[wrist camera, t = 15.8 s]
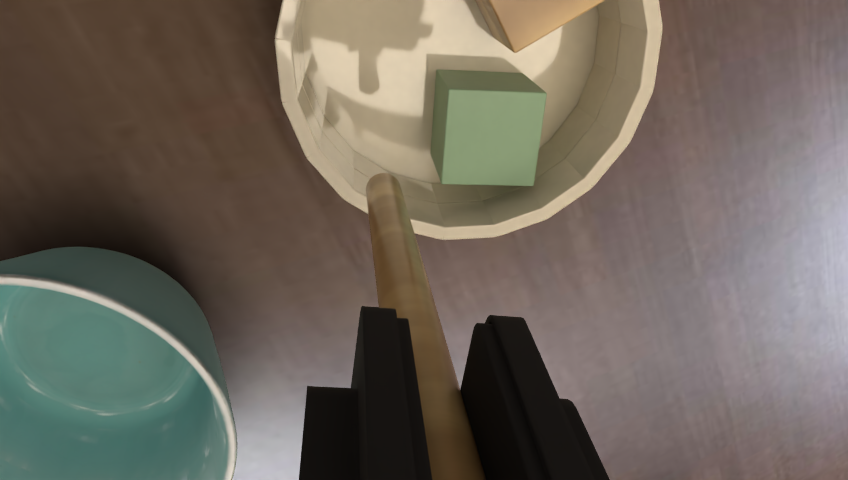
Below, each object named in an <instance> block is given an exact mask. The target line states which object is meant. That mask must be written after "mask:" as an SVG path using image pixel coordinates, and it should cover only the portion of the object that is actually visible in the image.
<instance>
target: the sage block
mask: <svg viewBox="0 0 848 480" xmlns="http://www.w3.org/2000/svg"><path fill="white" fill-rule="evenodd" d="M546 97H547V93H546V92H545V91H544V90H543V89H541V88H540V87H539V86H538V85H537V84H535V83H534V82H533V81H532V80H530V79H529V78H528V77H527V76H526V75H524V74H523V73H511V72H488V71H465V70H441V69H437V70H436V80H435V95H434V109H433V124H432V138H431V153H430V154H431V157H432V160H433V162H434V165H435V168H436V171H437V173H438V176H439V179H440V182H441V184H456V185H504V186H533V185H534V180H535V173H536V166H537V159H538V152H539V145H540V138H541V131H542V124H543V118H544V111H545V104H546Z"/></svg>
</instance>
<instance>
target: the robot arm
mask: <svg viewBox="0 0 848 480" xmlns="http://www.w3.org/2000/svg"><path fill="white" fill-rule="evenodd" d="M460 391H461V395H462V398H463V402H464V405H465V408H466V412H467V415H468V419H469V422H470V426H471V429H472V432H473V436H474V439H475V443H476V446H477V450H478V453H479V456H480V460H481V463H482V467H483V470H484V474H485V477H486V480H609V477H608V475H607V473H606V471H605V469H604V467H603V464H602V462H601V460H600V458H599V456H598V454H597V452H596V449H595V447H594V445H593V443H592V441H591V439H590V437H589V434H588V432H587V430H586V428H585V426H584V424H583V421H582V419H581V417H580V415H579V413H578V411H577V409H576V407H575V406H574V404H573V402H571V401H570V400H568V399H559V396H558V394H557V392H556V390H555V387H554V385H553V383H552V381H551V378H550V376H549V374H548V371H547V369H546V367H545V365H544V362H543V360H542V358H541V355H540V353H539V351H538V349H537V346H536V344H535V342H534V340H533V337H532V335H531V333H530V330H529V328H528V326H527V324H526V321H525V320H524V318H521V317H508V316H494V315H490V316H488V318H487V320H486V322H485V324H483V323H477V324H476V325H475V327H474V330H473V334H472V339H471V344H470V348H469V353H468V357H467V362H466V367H465V371H464V376H463V381H462V385H461V390H460ZM299 480H432V474H431V468H430V461H429V454H428V447H427V441H426V434H425V427H424V420H423V414H422V407H421V400H420V393H419V387H418V380H417V373H416V367H415V360H414V353H413V346H412V340H411V333H410V326H409V320H408V319H407V318H397V313H396V309H393V308H379V307H364V306H362V307H361V312H360V318H359V327H358V335H357V343H356V351H355V359H354V367H353V375H352V383H351V388H333V387H313V386H307V397H306V408H305V419H304V430H303V441H302V452H301V463H300V474H299Z"/></svg>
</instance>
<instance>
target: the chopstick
mask: <svg viewBox="0 0 848 480" xmlns="http://www.w3.org/2000/svg"><path fill="white" fill-rule="evenodd" d="M366 196H367V205H368V214H369V223H370V232H371V241H372V250H373V259H374V268H375V277H376V286H377V295H378V304H379V308H393V309H396V313H397V318H407V319H408V320H409V326H410V333H411V340H412V346H413V353H414V360H415V367H416V373H417V380H418V387H419V393H420V400H421V407H422V414H423V420H424V427H425V434H426V441H427V447H428V454H429V461H430V468H431V474H432V480H486V477H485V474H484V470H483V467H482V463H481V460H480V456H479V453H478V450H477V446H476V443H475V439H474V436H473V432H472V429H471V426H470V422H469V419H468V415H467V412H466V408H465V405H464V402H463V398H462V395H461V391H460V388H459V384H458V381H457V377H456V374H455V371H454V367H453V364H452V360H451V357H450V353H449V350H448V347H447V343H446V340H445V336H444V333H443V330H442V326H441V323H440V319H439V316H438V312H437V309H436V306H435V302H434V299H433V295H432V292H431V289H430V285H429V282H428V278H427V275H426V271H425V268H424V265H423V261H422V258H421V254H420V251H419V248H418V244H417V241H416V237H415V234H414V230H413V227H412V224H411V220H410V217H409V213H408V210H407V207H406V203H405V200H404V196H403V193H402V189H401V186H400V183H399V181H398V180H397V179H396V178H395V177H394V176H393V175H391V174H388V173H379V174H376V175H374V176H373V177H372V178H370V180H369V181H368V183H367V185H366Z"/></svg>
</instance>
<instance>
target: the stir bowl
mask: <svg viewBox="0 0 848 480" xmlns="http://www.w3.org/2000/svg"><path fill="white" fill-rule="evenodd" d="M662 28H663V25H662V19H661V12H660V6H659V0H605V1H603V2H602V3H600V4H598V5H597V6H595V7H593V8H592V9H590V10H588V11H587V12H585V13H583V14H581V15H580V16H578V17H576V18H575V19H573V20H571V21H570V22H568V23H566V24H564V25H563V26H561V27H559V28H558V29H556V30H554V31H553V32H551V33H549V34H548V35H546V36H544V37H542V38H541V39H539V40H537V41H536V42H534V43H532V44H531V45H529V46H527V47H525V48H524V49H522V50H520V51H519V52H517V53H514V52H512V51H511V50H510V49H508V48H507V47H506V46H504V45H503V44H502V43H500V42H499V41H497V40H496V39H495V38H494V37H493V36H492V34H491V32H490V30H489V28H488V26H487V24H486V22H485V20H484V18H483V16H482V14H481V12H480V10H479V7H478V5H477V3H476V1H475V0H282V4H281V9H280V14H279V19H278V24H277V28H276V33H275V49H276V58H277V68H278V77H279V86H280V95H281V101H282V105H283V107H284V109H285V112H286V114H287V116H288V118H289V121H290V123H291V125H292V127H293V130H294V132H295V134H296V136H297V139H298V141H299V143H300V145H301V148H302V150H303V152H304V154H305V156H306V158H307V159H308V160H309V162H310V163H311V164H312V165H313V166H314V167H315V168H316V169H317V171H318V172H319V173H320V174H321V175H322V176H323V177H324V178H325V179H326V181H327V182H328V183H329V184H330V185H331V186H332V187H333V188H334V190H335V191H336V192H337V193H338V194H339V195H340V196H341V197H342V198H343V199H344V200H345V201H347V202H349V203H350V204H352V205H354V206H355V207H357V208H359V209H360V210H362V211H364V212H365V213H367V214H368V205H367V196H366V185H367V183H368V181H369V180H370V178H372V177H373V176H374V175H376V174H379V173H388V174H391V175H393V176H394V177H395V178H396V179H397V180H398V181H399V183H400V186H401V189H402V193H403V196H404V200H405V203H406V207H407V210H408V213H409V217H410V220H411V224H412V227H413V230H414V233H416V234H420V235H424V236H429V237H433V238H437V239H441V240H442V239H443V240H452V239H470V238H488V237H498V236H501V235H503V234H506V233H509V232H512V231H515V230H518V229H521V228H524V227H526V226H529V225H532V224H535V223H538V222H541V221H544V220H546V219H548V218H550V217H551V216H553V215H554V214H555V213H557V212H558V211H560V210H561V209H563V208H564V207H566V206H567V205H568V204H570V203H571V202H573V201H574V200H576V199H577V198H578V197H580V196H581V195H583V194H584V193H586V192H587V191H589V190H590V189H591V188H592V187H593V186H594V185H595V184H596V183H597V182H598V180H599V179H600V178H601V177H602V176H603V174H604V173H605V172H606V171H607V170H608V168H609V167H610V166H611V165H612V164H613V162H614V161H615V160H616V159H617V158H618V156H619V155H620V154H621V153H622V152H623V150H624V149H625V148H626V147H627V146H628V144H629V143H630V141H631V139H632V137H633V135H634V133H635V130H636V128H637V126H638V124H639V122H640V119H641V117H642V115H643V113H644V110H645V108H646V106H647V104H648V102H649V99H650V97H651V95H652V93H653V91H654V85H655V78H656V71H657V64H658V58H659V51H660V44H661V37H662ZM437 69H441V70H465V71H488V72H511V73H523V74H524V75H526V76H527V77H528V78H529V79H530V80H532V81H533V82H534V83H535V84H537V85H538V86H539V87H540V88H541V89H543V90H544V91H545V92H546V93H547V97H546V104H545V111H544V118H543V124H542V131H541V138H540V145H539V152H538V159H537V166H536V173H535V180H534V185H533V186H504V185H456V184H441V182H440V179H439V176H438V173H437V171H436V168H435V165H434V162H433V160H432V157H431V154H430V153H431V138H432V124H433V109H434V95H435V80H436V70H437Z"/></svg>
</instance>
